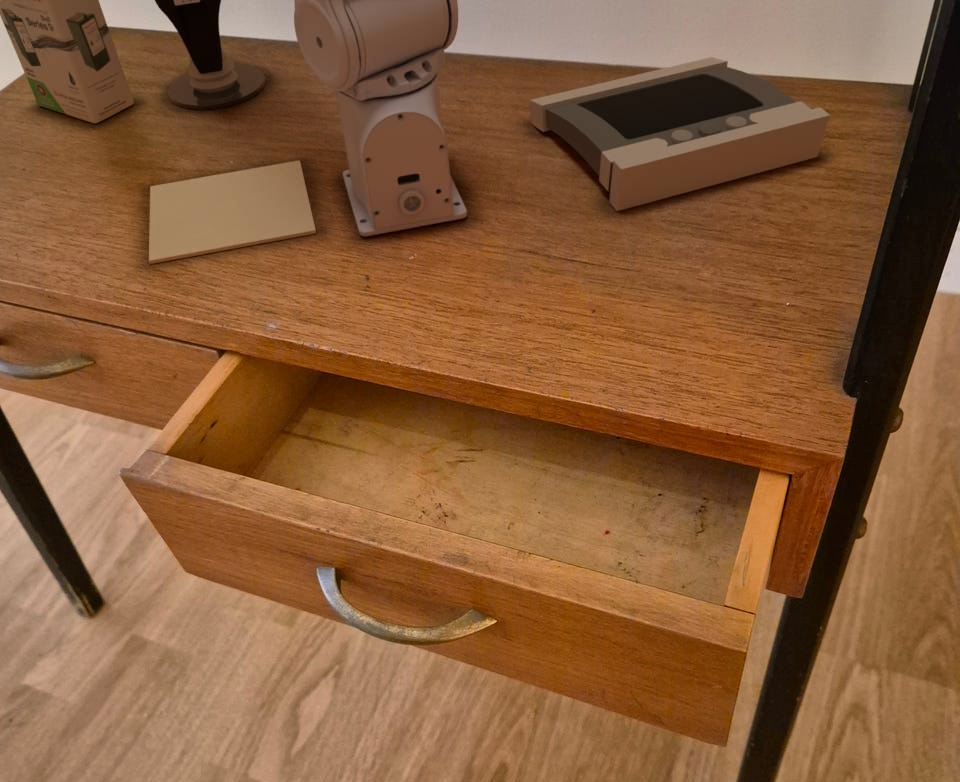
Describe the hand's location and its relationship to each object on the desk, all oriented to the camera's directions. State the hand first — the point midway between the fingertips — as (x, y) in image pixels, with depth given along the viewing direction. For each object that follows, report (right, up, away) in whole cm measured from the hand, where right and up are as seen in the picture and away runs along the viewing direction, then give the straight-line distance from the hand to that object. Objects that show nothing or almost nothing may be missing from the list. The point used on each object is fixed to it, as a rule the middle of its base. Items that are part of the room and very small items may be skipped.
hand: (210, 62), depth 80 cm
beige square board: (+6, -18, -14) cm, 23 cm away
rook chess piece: (0, -2, +2) cm, 2 cm away
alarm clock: (+40, -11, -10) cm, 43 cm away
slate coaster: (0, -2, +2) cm, 2 cm away
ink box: (-12, -4, +1) cm, 12 cm away
